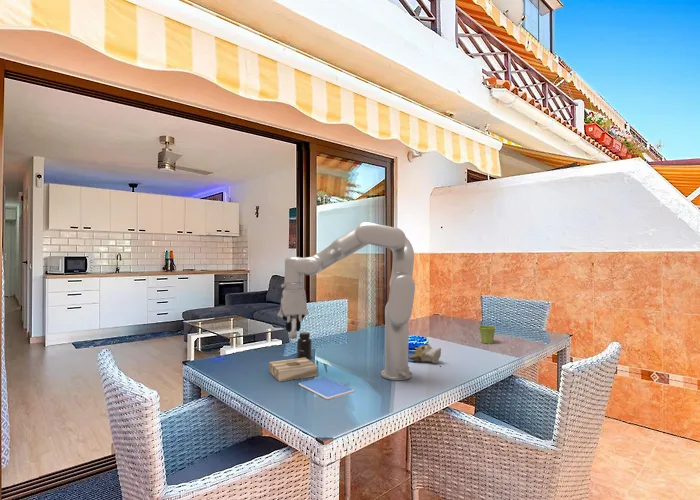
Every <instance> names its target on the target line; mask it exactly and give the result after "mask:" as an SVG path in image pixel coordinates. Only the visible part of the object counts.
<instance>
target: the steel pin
mask: <svg viewBox="0 0 700 500" xmlns="http://www.w3.org/2000/svg"><path fill="white" fill-rule="evenodd" d="M290 323H291V332H288V336H289V337H288V339H292V340H293V339H297V338H298V331H297V315H290Z"/></svg>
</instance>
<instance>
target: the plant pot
mask: <svg viewBox="0 0 700 500" xmlns="http://www.w3.org/2000/svg"><path fill="white" fill-rule="evenodd" d="M478 329H479V333H480V340H481V343H482V344H491V345H492V344H493V343H494V340H495V339H494V338H495V332H496V329H497V327H496V326H493V325H479V326H478Z"/></svg>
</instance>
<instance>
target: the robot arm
mask: <svg viewBox="0 0 700 500" xmlns="http://www.w3.org/2000/svg"><path fill="white" fill-rule="evenodd" d="M368 245H371V246H376V247H380V248H384V249H385V248H386V249H389V250H391V252H392V256H393V257H392V258H393V259H392V267H391V274H390V279H389V295H388V301H387V302H386V303H385V304H386V305H385V307H384V324H385V325H384V329H385V330H384V334H385V335H384V369H382V370H381V372H380V376H381V377H382V378H383V379H387V380H390V381H391V380H392V381H405V380H406V381H407V380H409V379H411V378H412V377H413V372H412V371H410V366H409V358H408V356H409V337H410V336H409V334H410V333H409V332H410V330H409V321H410V319H411V318H412V313H413V307H414V300H415V293H416V283H415V280H414V278H413V273H414V265H415V252H414V251H415V250H414V248H413V245H412V243H411V241H410V240H409V239H408V237H407V236H406V234H405V232H404V231H403V230H402V229H400V228H398V227H394V226H389V225H384V224H380V223H379V224H378V223H374V222H371V221H370V222H369V221H364V222H361V223H359V224H358V225H357V226H356V227H355V228H353V229H351V230H349V231H348V232H346V233H345V234H343V235H341V236H339V237H338V238H336V239H335V240H333V241H332V242H331V244H330V245H328V246H327V247H325V248H324V249H322V250H321V251H319V252H317V253H315V254H314V255H312V256H306V257H301V256H287V257H286V258H285V260H284V282H283V283H282V284H280V287H281V288H283V290H282V294H281V298H280V309H279V310H278V312H277V317H278V318H279V317H280V318H281V319H282V320H284V322H285V330H286V332H288V333H289V332H291V323H290V315H297V332H300V329H301V326H302V325H301V323H302V321H303V319H304V318H305V317H306V316H309V314H310V313H309V311H308V309H307V307H308V306H307V294H306V290H305V289H304V275H306V276H314V275H317V274H319V273H320V272H322V271H324V270H325V269H327V268H329V267H331V266H332V265H334V264H335V263H337V262H339V261H342V260H344V259H346V258H348V257H349V256H351V255H353V254H354V253H356V252H357V251H359V250H361V249H363V248H364V247H366V246H368Z"/></svg>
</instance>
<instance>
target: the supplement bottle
mask: <svg viewBox="0 0 700 500" xmlns="http://www.w3.org/2000/svg"><path fill="white" fill-rule="evenodd" d="M298 336H299V337H298V339H297V341H296V359H297V358H307V359H308V360H311V359H312V348H313V347H312V346H313V345H312V344H313V343H312V339H311V338H310V332H306V331H302V332H299V335H298Z"/></svg>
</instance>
